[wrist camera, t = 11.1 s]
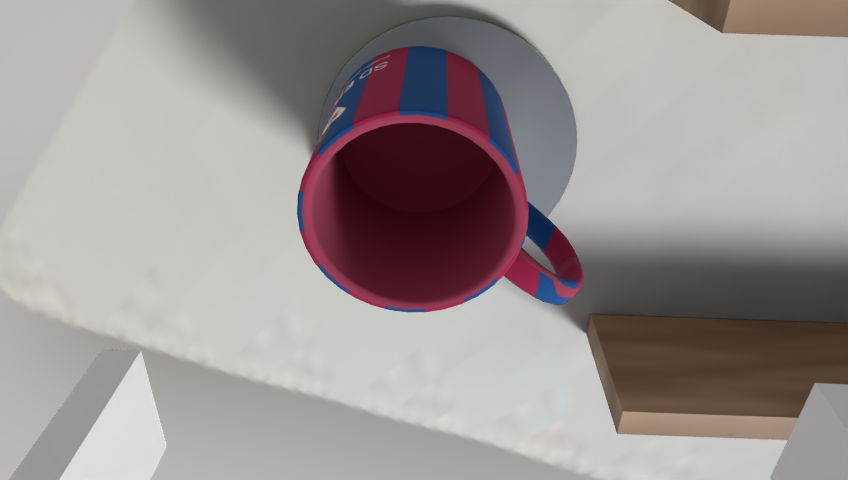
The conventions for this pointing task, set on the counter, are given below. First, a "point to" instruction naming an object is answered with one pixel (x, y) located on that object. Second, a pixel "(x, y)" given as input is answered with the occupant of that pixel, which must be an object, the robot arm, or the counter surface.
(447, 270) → the mug
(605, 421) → the counter surface
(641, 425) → the walnut bay
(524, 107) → the slate coaster
